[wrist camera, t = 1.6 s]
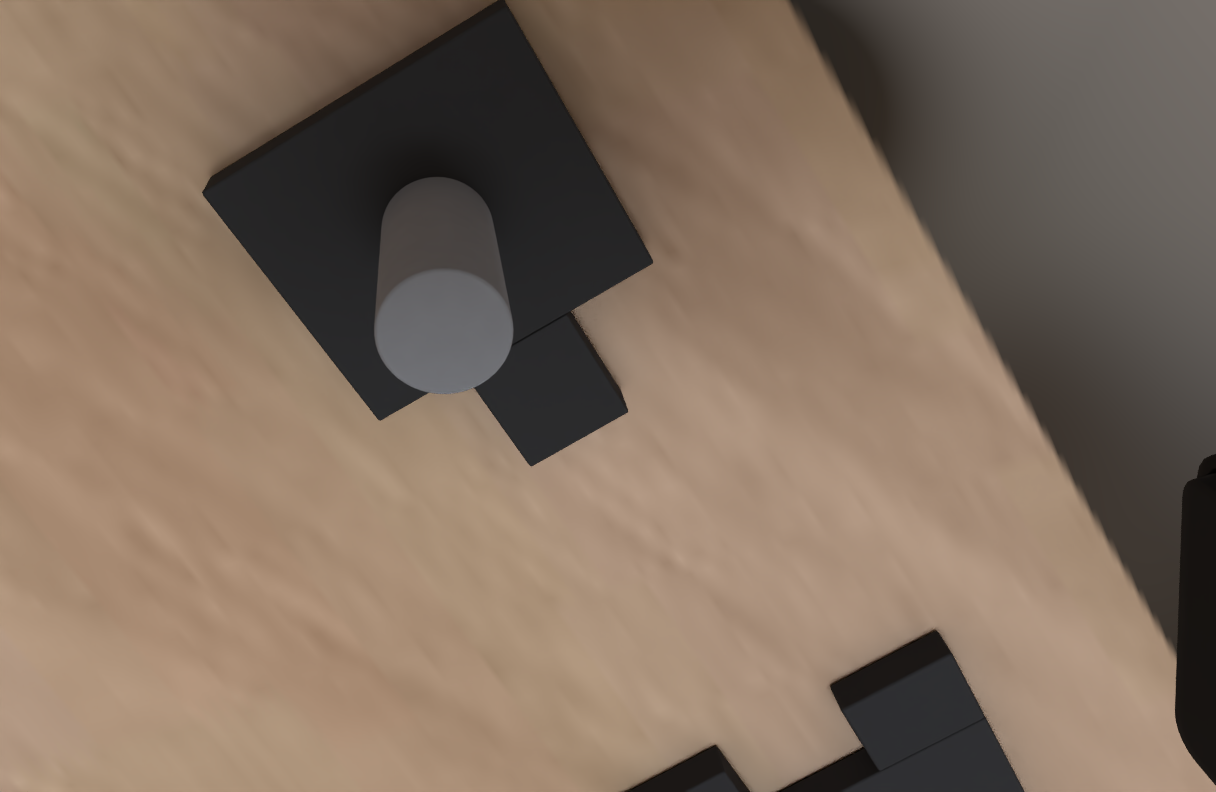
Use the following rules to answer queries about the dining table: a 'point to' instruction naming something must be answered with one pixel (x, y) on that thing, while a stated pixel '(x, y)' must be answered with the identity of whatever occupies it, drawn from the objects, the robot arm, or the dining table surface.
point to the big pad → (889, 735)
